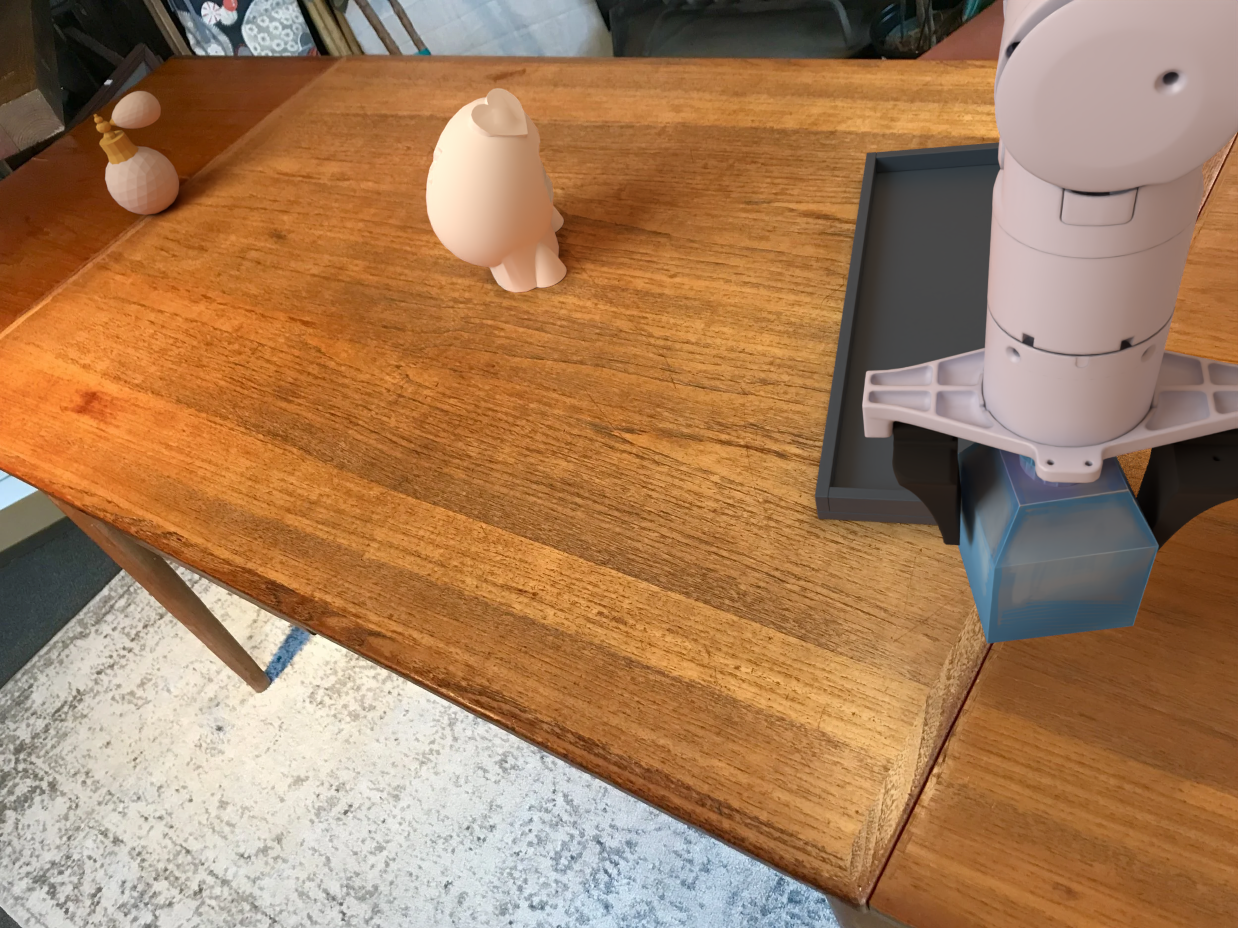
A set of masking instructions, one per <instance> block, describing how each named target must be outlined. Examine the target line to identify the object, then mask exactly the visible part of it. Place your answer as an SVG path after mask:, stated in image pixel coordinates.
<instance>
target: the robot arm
mask: <svg viewBox="0 0 1238 928" xmlns="http://www.w3.org/2000/svg"><path fill="white" fill-rule="evenodd" d="M1002 3H1003V4H1002V5H1003V7H1002V8H1003V19H1004V21H1003V28H1002V33H1001V34H1002V35H1001V41H1000V45H999V53H998V60H997V66H996V72H995V78H994V87H993V100H994V114H995V117H994V118H995V124H996V128H997V132H998V134H999V141H998V142H999V151H998V161H999V164H1000V168H1001V169H1000V171H999V173H998V175H997V178H996V181H995V184H994V188H993V202H992V224H991V242H990V260H989V277H988V295H987V301H988V302H987V320H986V338H985V348H983V349H979V350H975V351H971V352H967V353H963V354H959V355H955V356H951V357H947V358H943V359H939V360H935V361H931V362H927V363H923V364H919V365H915V366H910V367H905V368H899V369H891V370H877V371H867V372H866V377H865V386H864V395H863V404H862V408H863V420H864V432H865V437H875V438H887V437H890V436H891V435H892V434H893V438H894V440H893V458H892V466H893V471H894V474H895V477H896V479H897V481H898V483H899V485H900V486H902V487H904V488H906V489H908V490H909V491H911V492H912V493H913V494H915V495H916V496H917V497H918V498H919V499H920V500H921V501H922V502H923V503H924V505H925V506H926V507H927V508H928V510H929V511H930V513H931V514H932V516H933V518H934V519H935V521H936V523H937V525H936V526H937V527H938V530H939V532H940V535H941V537H942V542H943V543H944V545H946V546H958V545H960V522H961V483H960V472H959V462H958V437H959V438H963V439H966V440H970V441H973V442H977V443H980V444H984V445H988V446H991V447H995V448H998V449H1002V450H1005V451H1009V452H1013V453H1016V454H1020V455H1023V456H1027V457H1030V458H1032V459H1033V460H1034V461H1035V471H1036V473H1037V476H1038V477H1040V478H1041V479H1042V480H1044V481H1049V482H1067V483H1090V482H1094V481H1095V480H1097V479H1098V478H1099V477H1100V473H1101V469H1102V464H1103V460H1104V459H1106V458H1111V457H1115V456H1117V457H1119V456H1123V455H1127V454H1132V453H1137V452H1141V451H1144V450H1145V451H1146V450H1148V449H1150V454H1149V457H1148V458H1149V459H1148V462H1147V464H1146V468H1145V471H1144V474H1143V477H1142V480H1141V483H1140V485H1139V488H1138V491H1137V494H1136V499H1137V501H1138V503H1139V505H1140V507H1141V509H1142V511H1143V513H1144V516H1145V518H1146V520H1147V522H1148V524H1149V526H1150V528H1151V530H1152V533H1153V535H1154V537H1155V539H1156V541H1157V543H1158V545H1159V547H1158V550H1157V553H1158V552H1159V551H1160V550H1161V549H1162V547H1163V546H1164V545H1165V544H1166V543H1167V542H1168V541H1169V540H1170V539H1171V538H1172V537H1173V536H1174V535H1175V534H1176V533H1177V532H1178V531H1180V530H1181V529H1182V528H1183V527H1184V526H1186V525H1187V524H1188V523H1189V522H1190V521H1192V520H1193V519H1195V518H1196V517H1198V516H1200V515H1201V514H1203V513H1205V512H1206V511H1208V510H1211V509H1212V508H1215V507H1216V506H1218V505H1221V504H1224V503H1227V502H1230V501H1234V500H1237V499H1238V363H1231V362H1226V361H1220V360H1215V359H1211V358H1206V357H1202V356H1198V355H1197V356H1196V355H1192V354H1187V353H1186V354H1185V353H1182V352H1178V351H1177V352H1176V351H1172V350H1168V349H1166V347H1167V342H1168V338H1169V334H1170V330H1171V325H1172V322H1173V318H1174V315H1175V310H1176V304H1177V300H1178V297H1179V292H1180V288H1181V283H1182V280H1183V276H1184V272H1185V268H1186V264H1187V261H1188V256H1189V252H1190V249H1191V244H1192V240H1193V236H1194V232H1195V227H1196V225H1197V220H1198V217H1199V216H1198V215H1199V211H1200V207H1201V204H1202V200H1203V196H1204V191H1205V182H1204V181H1205V179H1204V173H1203V168H1204V164H1205V163H1207V162H1208V161H1210V160H1212V158H1213V157H1214V156H1216V155H1217V154H1218V153H1219V152H1220V151H1221V150H1222V149H1224V148H1225V147H1226V145H1227V144H1228V143H1230V141H1231V140H1232V139H1233V138H1234V137H1235V136H1236V134H1237V133H1238V0H1003V1H1002Z"/></svg>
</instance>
